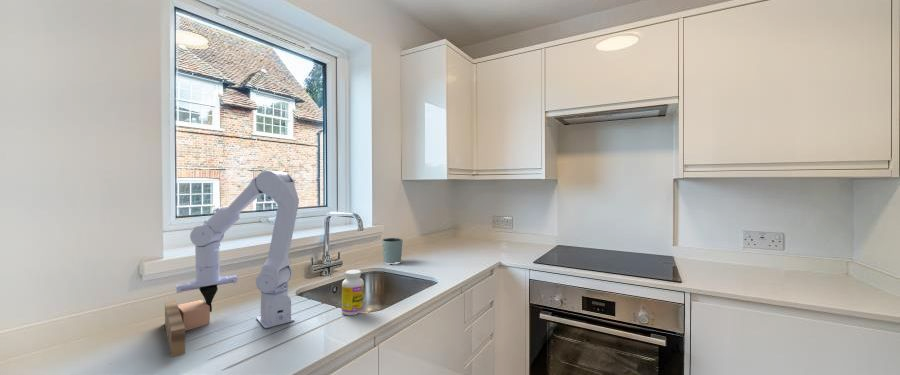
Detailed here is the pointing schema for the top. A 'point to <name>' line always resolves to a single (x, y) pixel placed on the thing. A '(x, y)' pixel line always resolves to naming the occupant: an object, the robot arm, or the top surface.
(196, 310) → the block
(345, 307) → the supplement bottle
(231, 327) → the top surface
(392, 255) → the green plant pot
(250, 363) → the top surface
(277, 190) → the robot arm
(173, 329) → the plank
